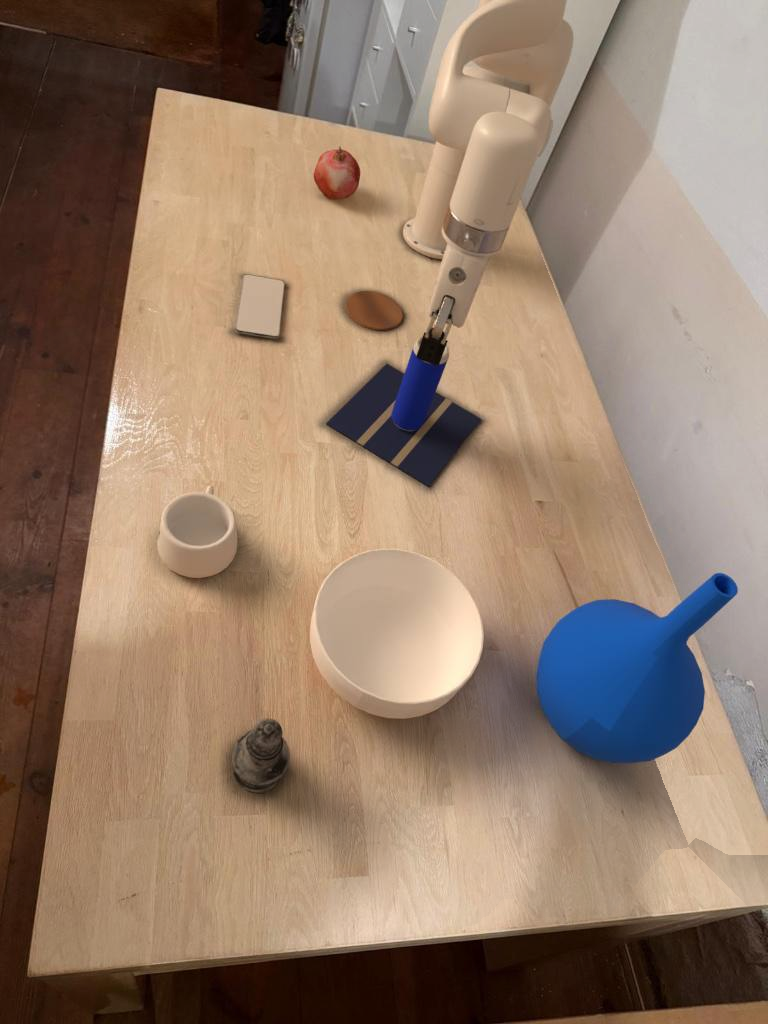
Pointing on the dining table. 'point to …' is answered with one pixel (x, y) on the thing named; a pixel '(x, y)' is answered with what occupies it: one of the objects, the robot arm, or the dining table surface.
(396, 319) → the coaster
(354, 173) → the fruit
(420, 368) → the beverage can
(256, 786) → the dark stone chess piece
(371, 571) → the bowl
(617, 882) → the dining table surface
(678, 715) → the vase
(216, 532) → the mug
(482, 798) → the dining table surface
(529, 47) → the robot arm
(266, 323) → the smartphone
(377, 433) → the plate
